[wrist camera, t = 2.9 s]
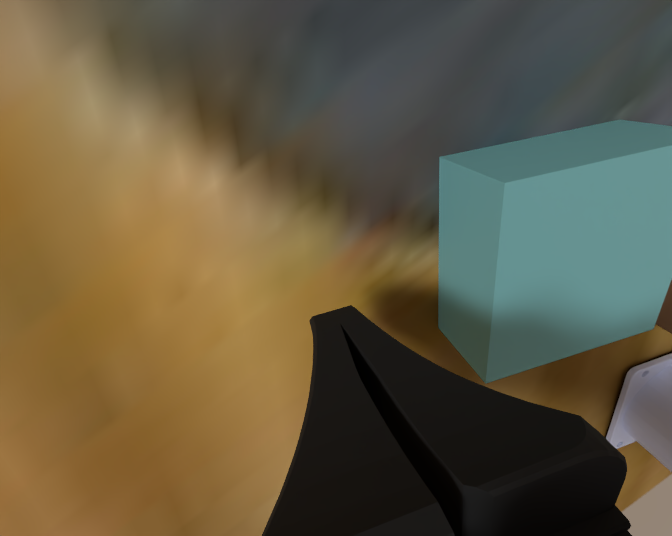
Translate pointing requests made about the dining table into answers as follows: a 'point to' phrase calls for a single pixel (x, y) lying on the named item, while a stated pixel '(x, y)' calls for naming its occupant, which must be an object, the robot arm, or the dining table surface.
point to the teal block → (554, 244)
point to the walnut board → (666, 311)
